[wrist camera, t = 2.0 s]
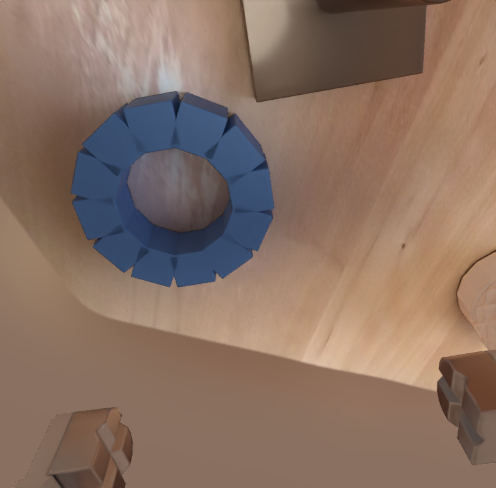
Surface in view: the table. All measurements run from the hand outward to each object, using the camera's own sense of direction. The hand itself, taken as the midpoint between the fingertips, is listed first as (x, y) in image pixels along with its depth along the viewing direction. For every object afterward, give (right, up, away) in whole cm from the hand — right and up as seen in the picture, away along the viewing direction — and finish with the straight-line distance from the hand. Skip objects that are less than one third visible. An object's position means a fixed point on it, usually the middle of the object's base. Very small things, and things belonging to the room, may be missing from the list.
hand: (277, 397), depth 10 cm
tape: (-5, +8, +15) cm, 18 cm away
